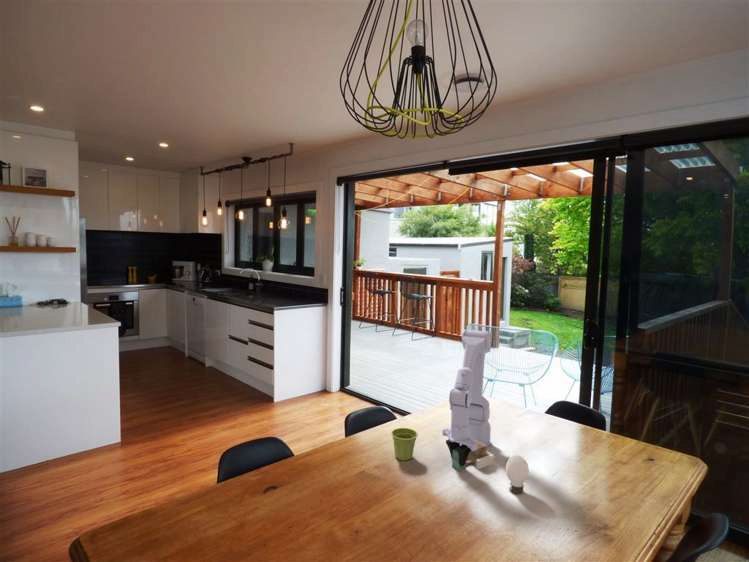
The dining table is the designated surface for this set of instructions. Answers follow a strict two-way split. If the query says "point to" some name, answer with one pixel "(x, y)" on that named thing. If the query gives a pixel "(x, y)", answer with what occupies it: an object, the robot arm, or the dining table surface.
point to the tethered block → (469, 456)
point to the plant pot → (404, 442)
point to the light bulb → (517, 473)
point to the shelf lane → (485, 461)
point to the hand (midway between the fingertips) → (458, 463)
